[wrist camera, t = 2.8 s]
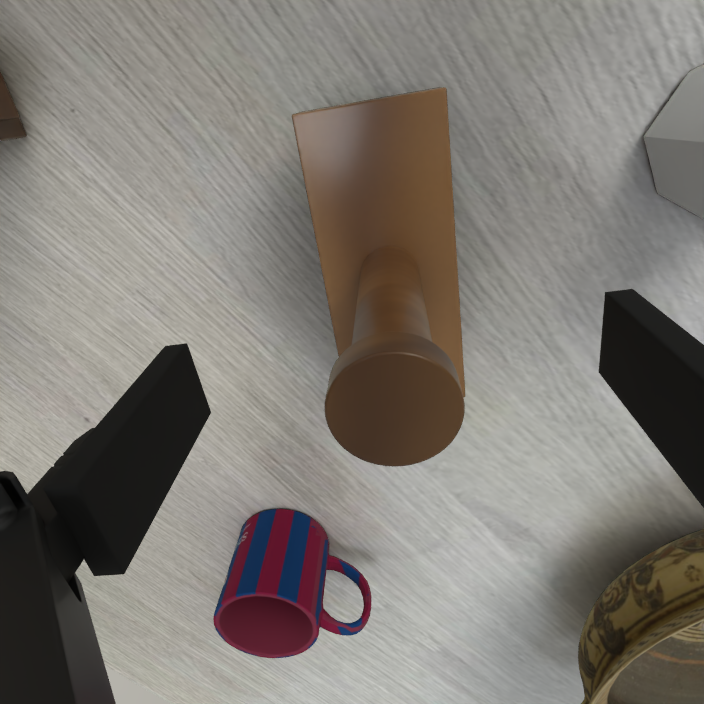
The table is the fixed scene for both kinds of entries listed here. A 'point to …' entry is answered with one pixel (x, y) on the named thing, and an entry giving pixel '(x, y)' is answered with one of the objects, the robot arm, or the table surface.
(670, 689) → the ceramic bowl
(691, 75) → the flask
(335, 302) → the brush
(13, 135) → the cabinet
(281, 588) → the mug
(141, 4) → the table surface
